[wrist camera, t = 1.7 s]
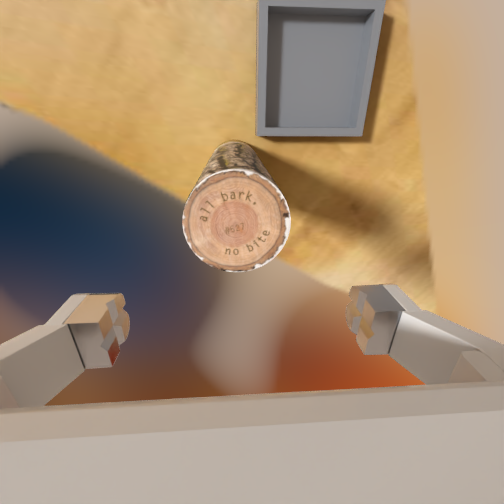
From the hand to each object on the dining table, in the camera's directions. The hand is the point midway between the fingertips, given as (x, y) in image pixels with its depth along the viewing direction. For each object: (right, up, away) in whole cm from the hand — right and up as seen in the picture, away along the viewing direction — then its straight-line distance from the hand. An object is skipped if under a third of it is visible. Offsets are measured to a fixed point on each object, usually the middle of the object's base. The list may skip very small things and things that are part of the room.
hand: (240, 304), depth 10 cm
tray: (+8, +25, +25) cm, 36 cm away
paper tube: (-2, +15, +30) cm, 33 cm away
